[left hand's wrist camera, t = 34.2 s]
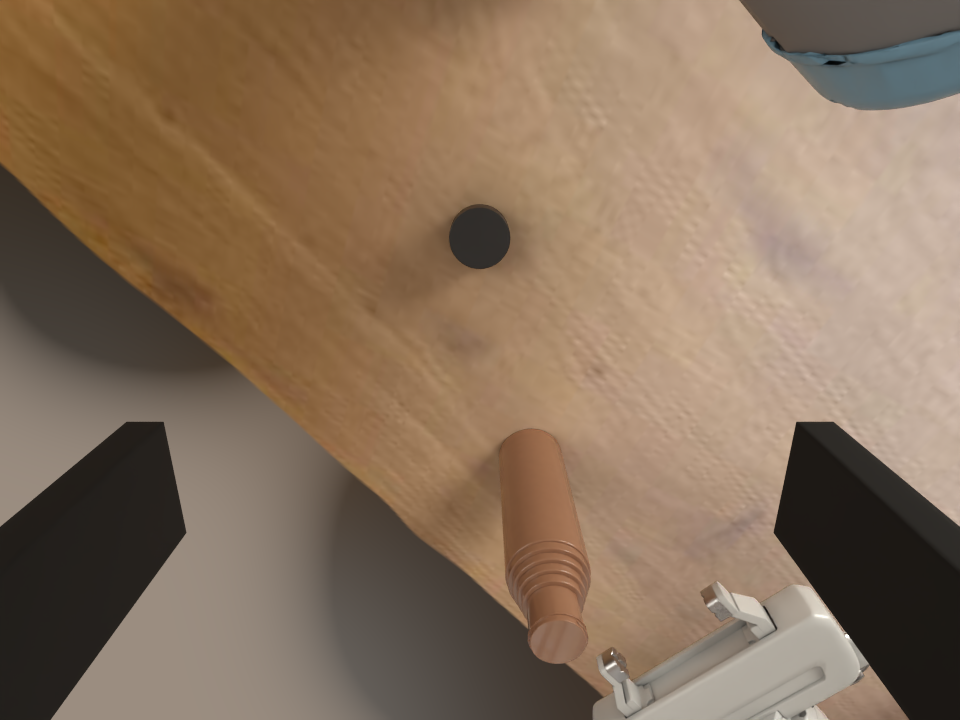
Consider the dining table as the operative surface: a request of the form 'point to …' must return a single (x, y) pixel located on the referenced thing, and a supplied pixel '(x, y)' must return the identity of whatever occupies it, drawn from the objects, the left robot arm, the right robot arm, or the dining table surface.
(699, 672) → the right robot arm
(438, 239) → the dining table surface
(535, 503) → the bottle
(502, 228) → the cap
